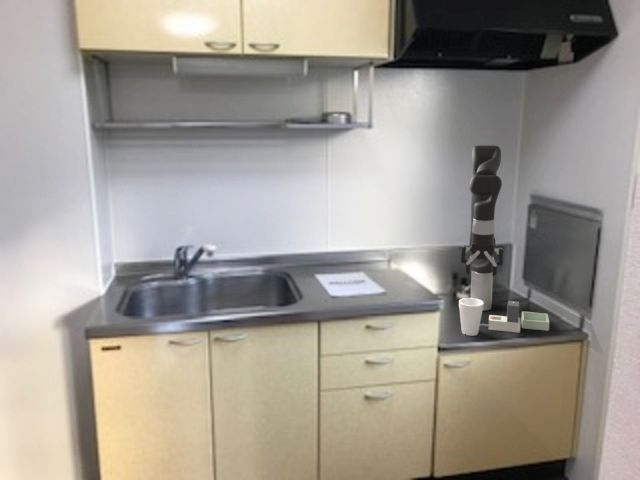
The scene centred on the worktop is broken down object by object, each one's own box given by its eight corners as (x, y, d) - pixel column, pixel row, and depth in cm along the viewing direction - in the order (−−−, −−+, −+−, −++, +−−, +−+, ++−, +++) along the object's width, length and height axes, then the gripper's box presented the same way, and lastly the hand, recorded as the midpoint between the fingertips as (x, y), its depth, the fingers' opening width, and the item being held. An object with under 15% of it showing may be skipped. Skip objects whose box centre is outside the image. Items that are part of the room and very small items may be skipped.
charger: (506, 320, 219) (507, 299, 217) (517, 321, 218) (518, 300, 216) (506, 326, 214) (508, 304, 212) (517, 327, 213) (519, 305, 211)
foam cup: (467, 338, 208) (468, 307, 205) (453, 330, 217) (454, 300, 213) (487, 334, 212) (488, 303, 209) (472, 326, 220) (473, 296, 217)
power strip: (473, 322, 224) (474, 312, 223) (519, 326, 218) (520, 316, 217) (473, 327, 218) (473, 317, 217) (519, 332, 213) (520, 322, 212)
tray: (521, 319, 226) (521, 311, 225) (546, 321, 223) (547, 313, 222) (522, 328, 217) (522, 320, 216) (548, 330, 214) (549, 322, 213)
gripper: (504, 230, 191) (501, 273, 194) (463, 228, 195) (461, 270, 199) (504, 234, 184) (501, 279, 188) (461, 232, 188) (459, 276, 192)
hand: (480, 274), depth 193 cm, fingers open, 8 cm apart
